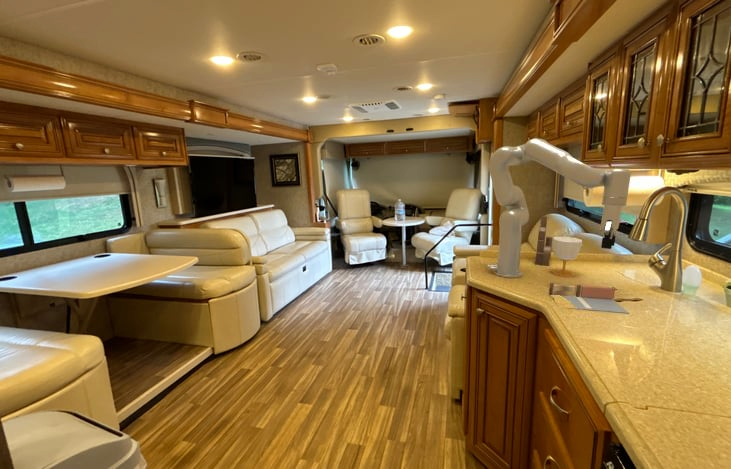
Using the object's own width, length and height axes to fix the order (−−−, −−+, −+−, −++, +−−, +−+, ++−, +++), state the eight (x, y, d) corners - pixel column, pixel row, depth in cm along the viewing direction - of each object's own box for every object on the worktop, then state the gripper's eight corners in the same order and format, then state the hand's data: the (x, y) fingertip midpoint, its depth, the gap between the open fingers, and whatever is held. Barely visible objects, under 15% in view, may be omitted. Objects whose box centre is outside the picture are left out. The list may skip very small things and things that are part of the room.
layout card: (559, 307, 121) (559, 306, 121) (548, 293, 134) (548, 292, 134) (628, 313, 116) (629, 312, 116) (610, 298, 129) (610, 297, 129)
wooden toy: (549, 266, 170) (554, 218, 165) (535, 264, 174) (539, 217, 169) (550, 259, 183) (555, 214, 178) (537, 257, 187) (541, 213, 182)
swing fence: (581, 296, 130) (583, 285, 129) (580, 295, 131) (581, 284, 130) (614, 298, 127) (616, 288, 126) (613, 297, 128) (614, 287, 127)
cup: (562, 269, 166) (565, 235, 162) (583, 276, 155) (588, 240, 151) (543, 271, 162) (547, 237, 159) (564, 279, 151) (569, 242, 148)
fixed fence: (549, 294, 132) (550, 283, 131) (548, 293, 134) (549, 282, 133) (580, 297, 130) (581, 286, 129) (578, 295, 131) (580, 284, 130)
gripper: (606, 199, 135) (600, 241, 139) (598, 202, 123) (591, 249, 127) (629, 200, 130) (622, 244, 134) (623, 204, 118) (615, 252, 122)
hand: (607, 246), depth 130 cm, fingers open, 6 cm apart
